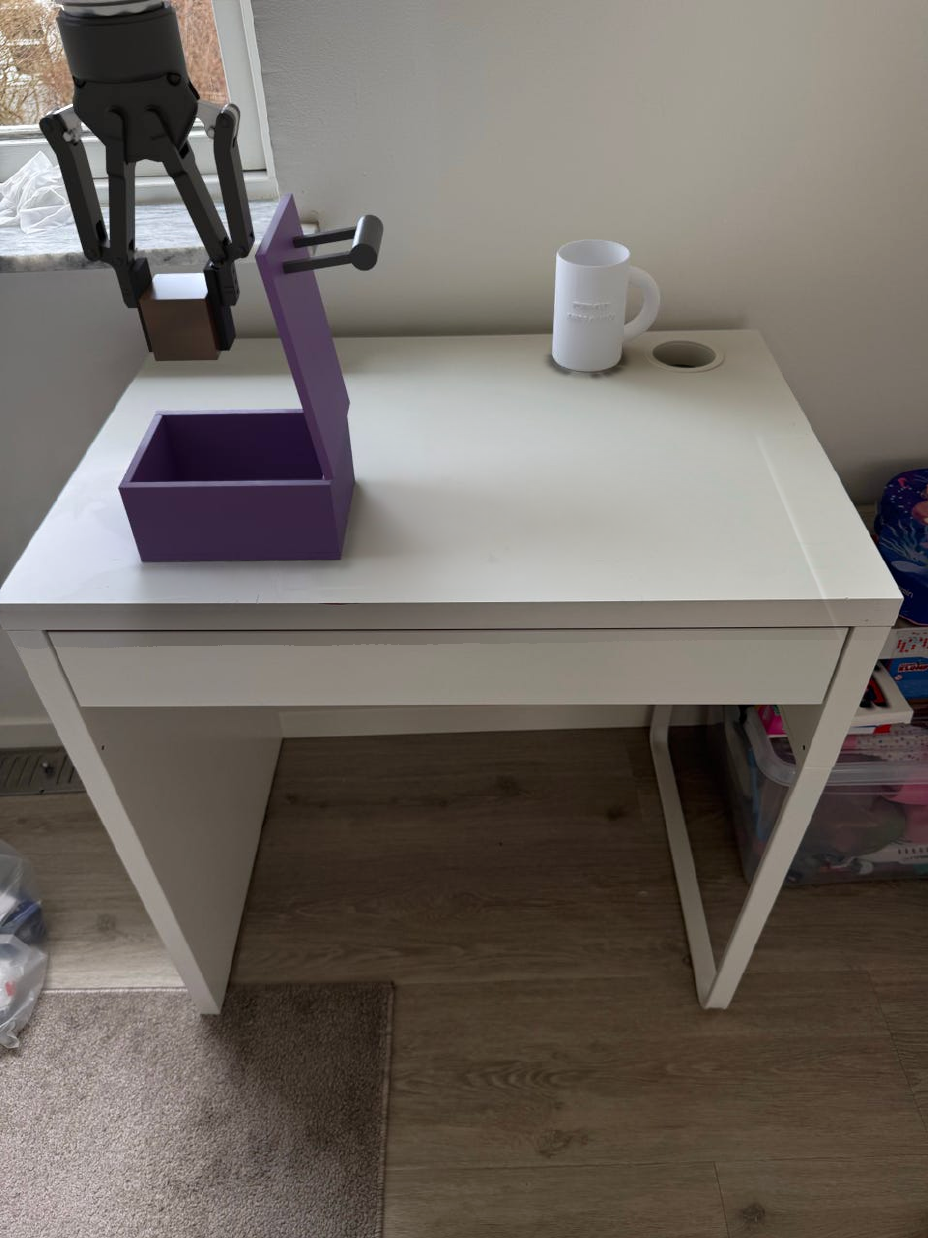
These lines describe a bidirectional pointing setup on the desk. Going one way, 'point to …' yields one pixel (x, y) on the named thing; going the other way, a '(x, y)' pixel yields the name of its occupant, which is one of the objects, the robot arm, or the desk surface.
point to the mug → (597, 304)
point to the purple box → (235, 488)
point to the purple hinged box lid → (312, 316)
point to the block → (180, 318)
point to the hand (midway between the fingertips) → (193, 343)
